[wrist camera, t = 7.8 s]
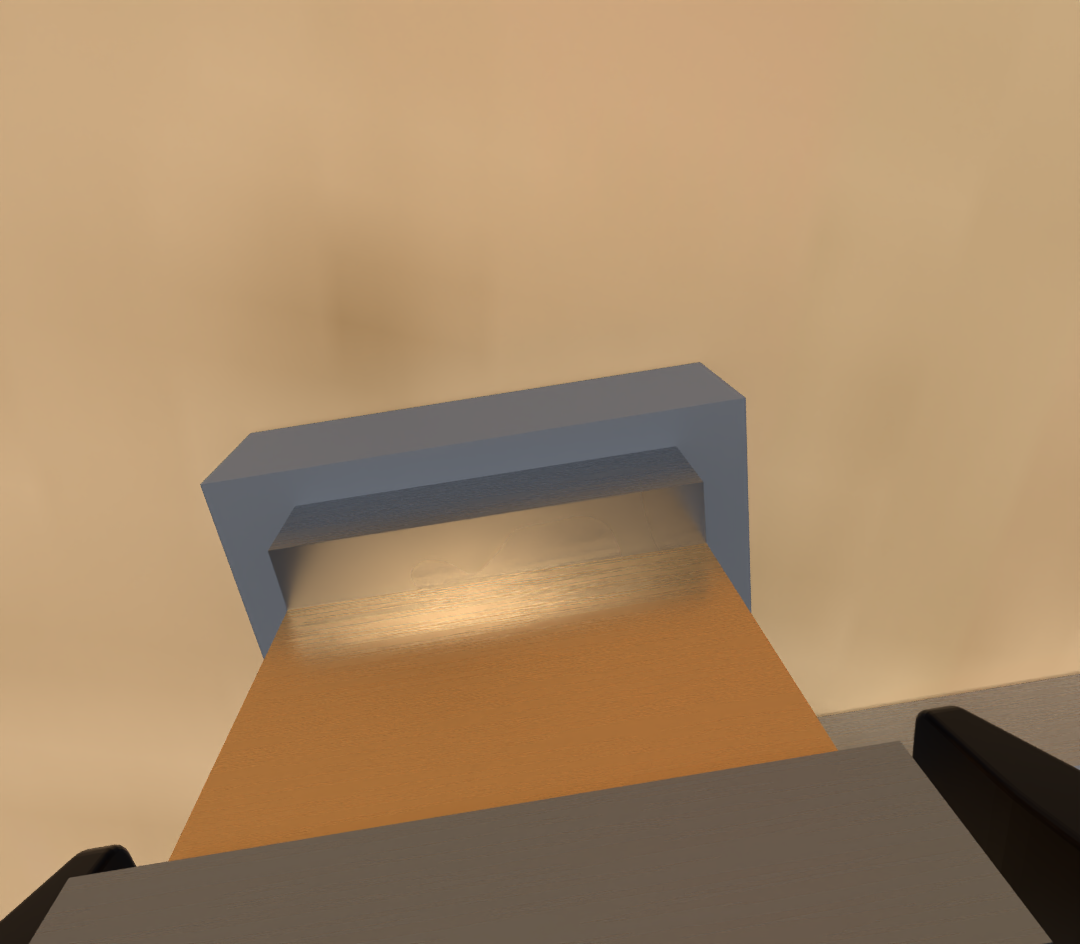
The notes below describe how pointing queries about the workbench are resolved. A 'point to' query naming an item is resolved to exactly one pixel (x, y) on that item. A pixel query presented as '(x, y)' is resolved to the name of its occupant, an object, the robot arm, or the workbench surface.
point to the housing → (540, 749)
